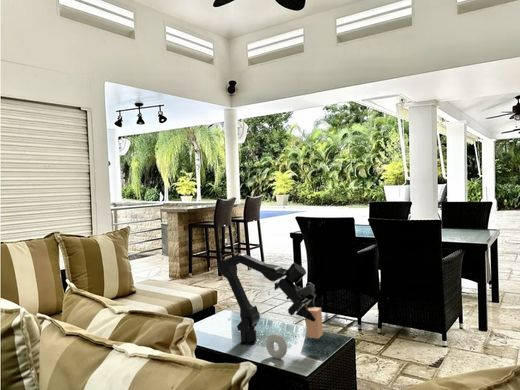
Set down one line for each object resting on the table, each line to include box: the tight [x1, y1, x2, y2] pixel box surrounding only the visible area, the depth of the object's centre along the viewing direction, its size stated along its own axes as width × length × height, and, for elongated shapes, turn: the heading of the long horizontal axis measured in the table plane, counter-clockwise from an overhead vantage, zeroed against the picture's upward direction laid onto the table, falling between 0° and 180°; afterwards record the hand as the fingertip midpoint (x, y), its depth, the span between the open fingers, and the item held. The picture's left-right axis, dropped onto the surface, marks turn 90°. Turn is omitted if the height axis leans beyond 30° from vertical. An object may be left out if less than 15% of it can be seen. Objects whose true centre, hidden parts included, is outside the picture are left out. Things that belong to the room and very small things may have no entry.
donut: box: [265, 332, 288, 360], centre depth 161 cm, size 10×4×10 cm, turn 49°
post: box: [305, 307, 324, 339], centre depth 165 cm, size 5×5×11 cm
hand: (317, 318), depth 165 cm, fingers closed on post, 5 cm apart
